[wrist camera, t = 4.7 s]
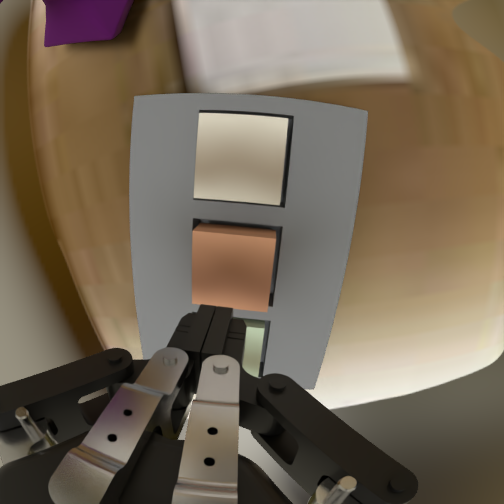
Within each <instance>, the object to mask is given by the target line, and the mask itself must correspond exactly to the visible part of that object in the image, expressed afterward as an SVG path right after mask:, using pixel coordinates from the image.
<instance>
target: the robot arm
mask: <svg viewBox="0 0 504 504" xmlns="http://www.w3.org/2000/svg"><path fill="white" fill-rule="evenodd" d="M246 330H247V326H246V324H245V322H244V320H242V319H233V308H230V307H222V306H213V305H205V304H201V305H200V307H199V309H198V311H197V313H196V314H194V313H188V314H186V315H185V316H183V317H182V318H181V320H180V321H179V323H178V326H177V327H176V329H175V331H174V333H173V335H172V337H171V339H170V341H169V343H168V345H167V347H166V348H163V349H160V350H158V351H156V352H155V353H154V355H153V356H152V358H151V359H145V360H133V359H132V355H131V354H130V353H129V352H128V351H127V350H125V349H121V348H112V349H108V350H105V351H102V352H100V353H97V354H94V355H91V356H89V357H86V358H83V359H80V360H77V361H75V362H72V363H69V364H66V365H63V366H60V367H57V368H54V369H51V370H48V371H45V372H42V373H39V374H36V375H33V376H30V377H27V378H24V379H21V380H18V381H15V382H12V383H8V384H5V385H2V386H0V456H1V460H2V463H3V466H2V467H1V468H0V504H293V503H292V502H291V501H290V500H289V499H288V498H287V497H286V496H285V495H284V494H283V492H282V491H281V490H280V489H279V488H278V487H277V486H276V485H275V484H274V482H273V481H272V480H271V479H270V478H269V477H268V475H267V474H266V473H265V472H264V471H263V470H262V469H261V468H260V467H259V466H258V465H257V464H256V463H254V462H253V461H251V460H250V459H248V458H246V457H244V456H242V455H240V454H238V432H239V426H241V427H243V428H246V429H249V430H251V434H252V435H253V437H254V438H255V439H256V440H257V442H258V443H259V444H260V445H261V446H262V447H263V448H264V449H265V450H266V451H267V453H269V455H270V456H271V457H272V458H273V459H274V460H275V461H276V462H277V463H278V464H279V465H280V466H281V467H282V468H283V469H284V470H285V471H286V472H287V473H288V474H289V475H290V476H291V477H292V478H293V479H294V480H295V481H296V482H297V483H298V484H299V485H300V486H301V487H302V488H303V489H304V490H305V491H306V492H307V493H308V494H309V495H311V498H310V499H309V501H308V504H406V503H407V502H409V501H410V500H411V499H412V498H413V497H414V496H415V494H416V493H417V490H418V480H417V478H416V476H415V475H414V474H413V473H412V472H411V471H410V470H408V469H407V468H405V467H404V466H403V465H401V464H400V463H398V462H397V461H395V460H394V459H393V458H391V457H390V456H388V455H387V454H385V453H384V452H383V451H382V450H380V449H379V448H378V447H376V446H375V445H373V444H372V443H371V442H369V441H368V440H367V439H365V438H364V437H363V436H362V435H360V434H359V433H358V432H356V431H355V430H354V429H352V428H351V427H350V426H349V425H347V424H346V423H345V422H344V421H342V420H341V419H340V418H338V417H337V416H336V415H335V414H333V413H332V412H331V411H330V410H329V409H327V408H326V407H325V406H324V405H322V404H321V403H320V402H319V401H318V400H316V399H315V398H314V397H313V396H312V395H310V394H309V393H308V392H307V391H306V390H304V389H303V388H302V387H301V386H300V385H299V384H297V383H296V382H295V381H294V380H293V379H291V378H290V377H288V376H286V375H283V374H278V373H271V374H267V375H265V376H263V377H261V378H257V377H255V376H252V375H250V374H249V373H247V372H246V371H245V370H244V368H243V367H242V365H243V359H244V351H245V340H246ZM105 387H106V389H107V392H108V393H106V394H104V395H101V396H99V397H96V398H94V399H92V400H89V401H86V402H84V403H80V404H79V403H78V401H79V399H80V398H81V397H83V396H85V395H88V394H91V393H93V392H96V391H98V390H100V389H103V388H105ZM194 394H197V395H196V399H195V400H193V401H192V398H193V395H194ZM191 401H192V405H191ZM190 409H191V410H190ZM189 412H190V415H189V420H188V426H187V431H186V437H185V440H178V438H179V435H180V433H181V431H182V428H183V426H184V424H185V421H186V419H187V416H188V414H189Z"/></svg>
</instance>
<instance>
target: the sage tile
mask: <svg viewBox="0 0 504 504" xmlns="http://www.w3.org/2000/svg"><path fill="white" fill-rule="evenodd" d="M233 319H242V320H244V322H245V324H246V326H247V330H246V340H245V351H244V359H243V365H242V367H243V368H244V370H245V371H246V372H247V373H249V374H250V375H252V376H255V377H257V378H258V374H259V367H260V359H261V352H262V344H263V337H264V329H265V320H257V319H248V318H238V317H233Z"/></svg>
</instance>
